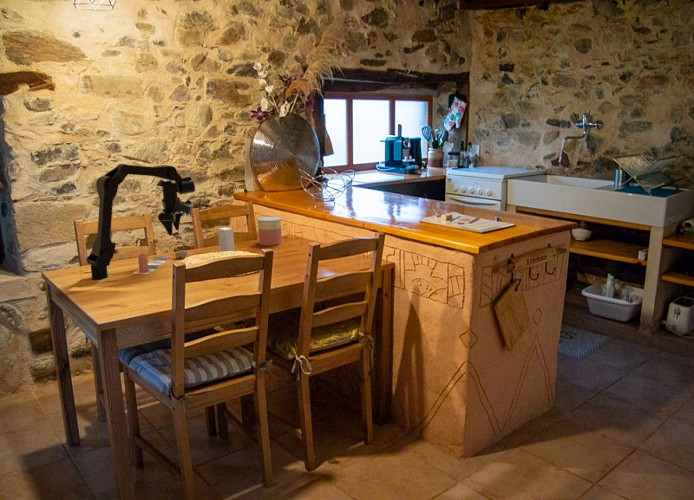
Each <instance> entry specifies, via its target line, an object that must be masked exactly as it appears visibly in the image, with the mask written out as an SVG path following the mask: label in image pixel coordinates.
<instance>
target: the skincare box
mask: <svg viewBox="0 0 694 500" xmlns="http://www.w3.org/2000/svg"><path fill="white" fill-rule="evenodd" d="M217 232H218V248H219V251H218V252H219V253H220V251H234V252H235V242H234V241H235V240H234V239H235V238H234V236H235V235H234V229H233V228H231V227H230V228H229V227H220V228H218V230H217Z"/></svg>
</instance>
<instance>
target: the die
mask: <svg viewBox="0 0 694 500" xmlns="http://www.w3.org/2000/svg"><path fill="white" fill-rule="evenodd" d="M174 255H175V259H176V260H184V259H183V258H186V257H188V250H177V251H176V252H175V254H174ZM188 258H189V257H188Z"/></svg>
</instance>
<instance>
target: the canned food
mask: <svg viewBox="0 0 694 500" xmlns="http://www.w3.org/2000/svg"><path fill="white" fill-rule="evenodd" d="M257 225H258V226H257V227H258V230H257V231H258V244H259V245H263V246H276V245H275V244H277V245H281V244H282V243H283V241H282V239H283V237H282V217H280V216H262V217H259V218H257ZM280 243H281V244H280Z"/></svg>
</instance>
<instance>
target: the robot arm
mask: <svg viewBox="0 0 694 500" xmlns="http://www.w3.org/2000/svg"><path fill="white" fill-rule="evenodd" d="M128 175H133V176H134V175H135V176H145V177H146V176H148V177H149V176H150V177H155V178H159V179H160V180H159V181H158V182H157V184H156V186H157V187H161V189H162V198H163V199H161V202H162V203H163V207H164V208H163V209H162V212H159V214H157V220H158V221H159V222H160V223H161V225H162V226H163V227H164V230H166V232H167V234H168V236H173V232H174V229H175V231H179V230H180V226H181V225H180V224H181V218H182V217H183V215H185V214H189V215H190V214H191V213H192V210H193V208H194V204H193V202H192V200H189V199H187V200H186V201H181V198H180V197H179V196H178V194H179V195H186V194H191V193H195V191H196V184H195V182H194V181H193V180H192V177H191V176H185V177H182V176H181V175H180V174H179V173H178V170H177V168H176V167H175V166H173V165H166V164H162V165H161V164H159V165H155V166H145V165H137V164H136V165H133V164H128V163H119V164H118V165H116V167H114V168H113V169H111V170H110V171H107V173H105V174H104V175H102V176H99V178H98V177H97V180H96V184H95V185H96V193H97V195H98V198H99V203H98V204H99V206H98V207H99V208H98V218H97V219H98V220H97V236H96V238H95V240H94V242H93V244H92V247H91V253H90V254H89V255H88V256H87V257H86V259H85V260H86V262H87V264H88V265H90V271H91V272H90V273H91V279H92V281H101V280H105V279H107V278H109V273H108V266H111V265H110V264H111V261H112V259H113V257H114V254H116V249H115V248H116V245H117V244H116V242H113V241H112V239H111V234H112V218H113V206H114V199H115V198H116V196H117V194H118V189H119V186H120V185H121V184H122V183H123V182H124V180H125V179H126V178H127V176H128ZM162 179H163V180H162Z"/></svg>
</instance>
